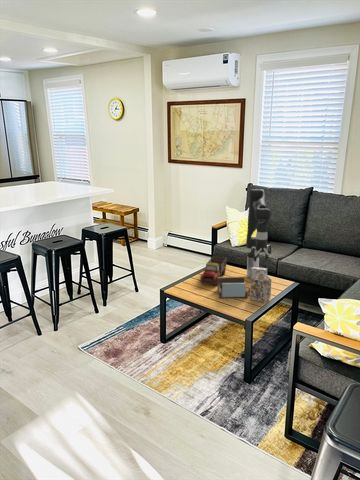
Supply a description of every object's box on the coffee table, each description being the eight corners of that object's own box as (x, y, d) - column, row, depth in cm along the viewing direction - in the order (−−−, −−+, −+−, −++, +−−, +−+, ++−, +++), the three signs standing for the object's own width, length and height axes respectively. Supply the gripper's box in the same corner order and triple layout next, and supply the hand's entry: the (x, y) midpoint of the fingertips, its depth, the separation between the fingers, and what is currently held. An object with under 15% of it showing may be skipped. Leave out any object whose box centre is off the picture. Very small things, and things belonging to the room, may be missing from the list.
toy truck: (198, 285, 289) (198, 267, 285) (212, 270, 320) (212, 253, 316) (216, 288, 284) (216, 269, 280) (228, 272, 315) (229, 255, 311)
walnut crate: (217, 289, 281) (217, 277, 278) (244, 289, 280) (244, 276, 278) (219, 298, 265) (219, 285, 262) (247, 298, 265) (248, 285, 262)
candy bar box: (266, 288, 281) (267, 268, 276) (264, 291, 277) (265, 270, 272) (252, 286, 286) (253, 266, 281) (250, 288, 282) (251, 268, 277)
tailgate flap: (222, 296, 264) (222, 283, 262) (244, 295, 264) (245, 282, 261) (222, 296, 263) (222, 283, 260) (245, 296, 263) (245, 283, 260)
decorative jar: (265, 303, 257) (266, 278, 252) (249, 299, 263) (250, 275, 258) (271, 296, 267) (272, 273, 262) (255, 293, 273) (256, 270, 268)
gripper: (268, 235, 257) (267, 257, 262) (249, 237, 253) (248, 259, 258) (273, 238, 250) (272, 261, 255) (254, 240, 246) (253, 263, 251)
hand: (260, 260), depth 256 cm, fingers open, 8 cm apart
